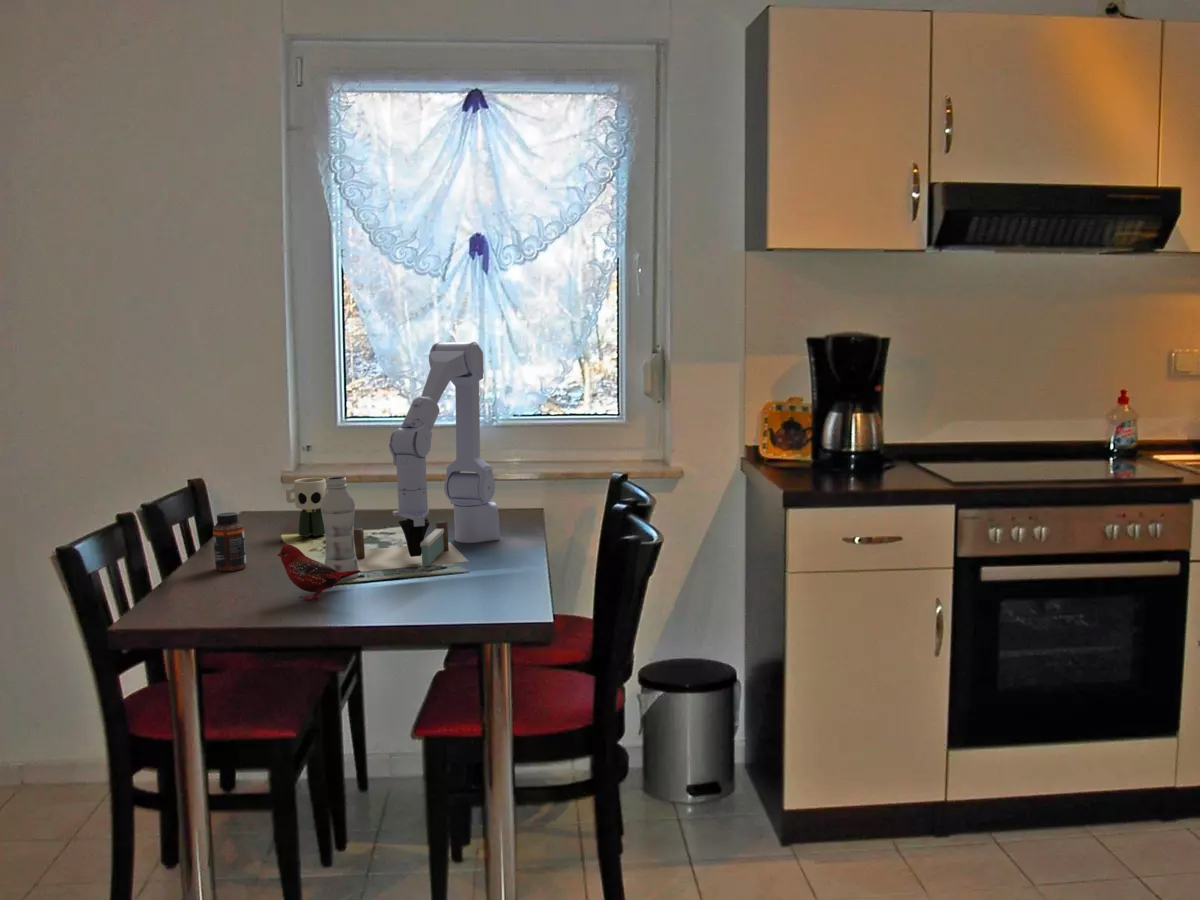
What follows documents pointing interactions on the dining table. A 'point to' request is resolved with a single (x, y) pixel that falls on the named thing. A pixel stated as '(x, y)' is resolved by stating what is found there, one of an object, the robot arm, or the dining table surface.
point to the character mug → (309, 504)
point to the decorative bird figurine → (309, 572)
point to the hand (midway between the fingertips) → (415, 555)
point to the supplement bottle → (229, 543)
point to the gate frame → (401, 554)
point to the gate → (432, 546)
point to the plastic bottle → (339, 527)
